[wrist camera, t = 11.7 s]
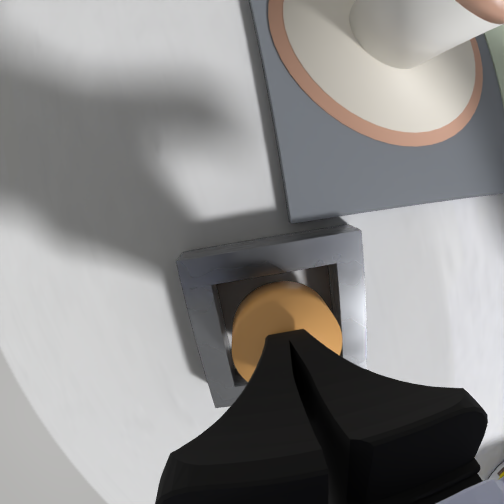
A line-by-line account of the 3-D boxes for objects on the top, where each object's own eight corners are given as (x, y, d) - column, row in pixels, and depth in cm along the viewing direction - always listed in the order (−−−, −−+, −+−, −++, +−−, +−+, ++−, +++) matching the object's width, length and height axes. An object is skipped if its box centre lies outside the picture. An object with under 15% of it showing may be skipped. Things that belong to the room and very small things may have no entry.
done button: (325, 272, 12) (339, 288, 11) (332, 358, 13) (343, 381, 11) (223, 290, 12) (221, 309, 11) (242, 374, 13) (242, 400, 11)
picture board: (520, -3, 10) (526, -6, 9) (564, 184, 13) (572, 185, 12) (235, -55, 10) (235, -63, 9) (289, 221, 13) (292, 224, 12)
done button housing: (348, 224, 13) (361, 230, 12) (356, 363, 15) (366, 380, 13) (183, 252, 13) (176, 261, 12) (217, 388, 15) (215, 407, 13)
